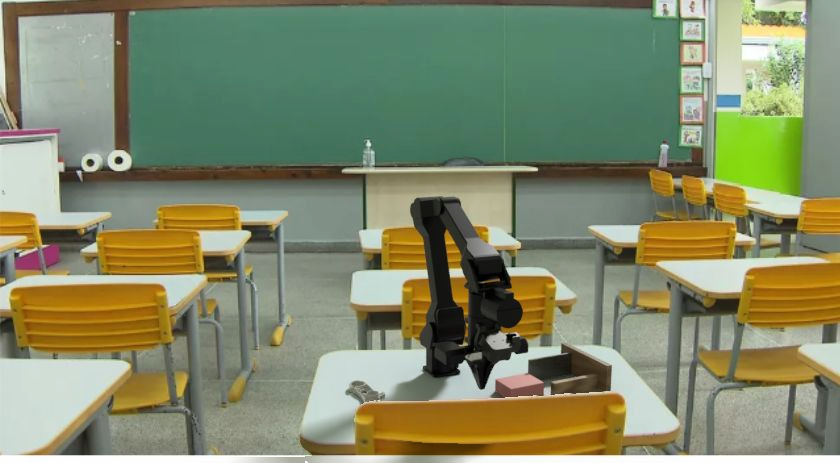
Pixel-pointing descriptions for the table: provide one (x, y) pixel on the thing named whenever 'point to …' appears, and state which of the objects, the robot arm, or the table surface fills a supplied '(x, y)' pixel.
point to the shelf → (572, 371)
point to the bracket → (361, 387)
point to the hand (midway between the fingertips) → (481, 388)
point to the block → (519, 386)
